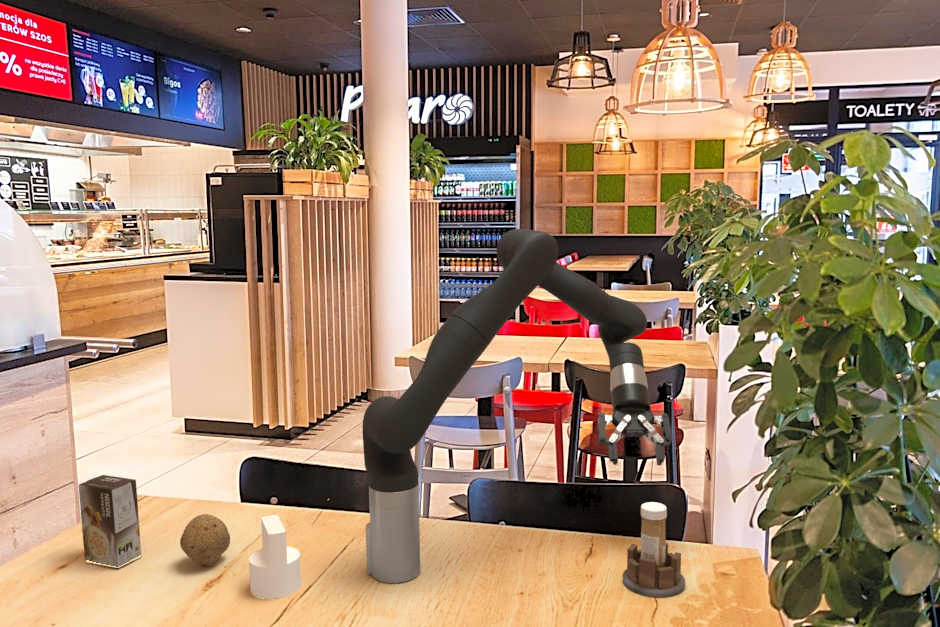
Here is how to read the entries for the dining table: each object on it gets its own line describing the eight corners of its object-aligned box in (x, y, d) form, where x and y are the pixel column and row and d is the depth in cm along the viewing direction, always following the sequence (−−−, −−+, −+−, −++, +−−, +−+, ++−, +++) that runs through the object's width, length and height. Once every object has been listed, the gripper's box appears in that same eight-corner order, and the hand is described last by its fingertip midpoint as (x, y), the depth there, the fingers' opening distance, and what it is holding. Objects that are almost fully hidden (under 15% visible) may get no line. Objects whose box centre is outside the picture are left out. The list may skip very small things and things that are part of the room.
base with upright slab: (247, 582, 144) (244, 519, 142) (296, 572, 147) (293, 511, 146) (254, 603, 135) (250, 537, 134) (305, 593, 139) (303, 529, 137)
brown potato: (171, 571, 148) (167, 521, 147) (199, 552, 157) (196, 504, 155) (212, 577, 146) (210, 526, 145) (239, 557, 154) (236, 508, 153)
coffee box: (143, 557, 155) (138, 479, 153) (118, 570, 149) (112, 489, 147) (108, 550, 158) (103, 473, 156) (82, 563, 153) (76, 484, 151)
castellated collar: (614, 589, 139) (614, 556, 138) (633, 564, 148) (633, 534, 148) (676, 602, 134) (677, 569, 133) (691, 576, 143) (692, 545, 142)
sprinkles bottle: (671, 578, 141) (672, 506, 139) (653, 585, 138) (654, 512, 136) (652, 569, 144) (653, 499, 143) (634, 575, 142) (635, 504, 140)
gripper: (596, 381, 157) (602, 454, 148) (667, 381, 157) (678, 455, 147) (592, 399, 163) (598, 471, 154) (661, 400, 163) (671, 472, 153)
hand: (637, 463), depth 150 cm, fingers open, 8 cm apart
